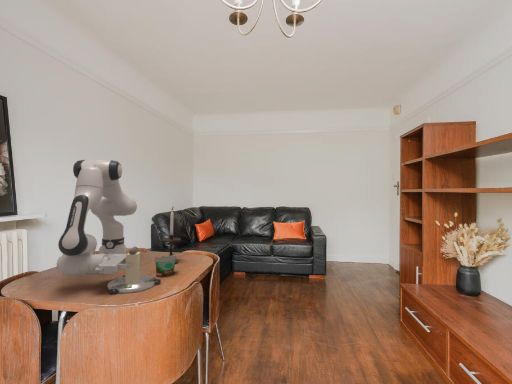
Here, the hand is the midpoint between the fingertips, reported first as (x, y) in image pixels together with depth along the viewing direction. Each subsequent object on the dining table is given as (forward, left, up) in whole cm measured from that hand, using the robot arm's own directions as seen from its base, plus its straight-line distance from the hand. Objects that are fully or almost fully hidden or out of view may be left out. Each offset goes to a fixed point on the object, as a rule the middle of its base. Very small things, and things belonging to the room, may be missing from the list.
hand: (133, 262), depth 118 cm
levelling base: (0, +1, -10) cm, 10 cm away
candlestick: (-38, +13, -10) cm, 41 cm away
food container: (-13, +14, -10) cm, 22 cm away
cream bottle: (0, 0, -9) cm, 9 cm away
